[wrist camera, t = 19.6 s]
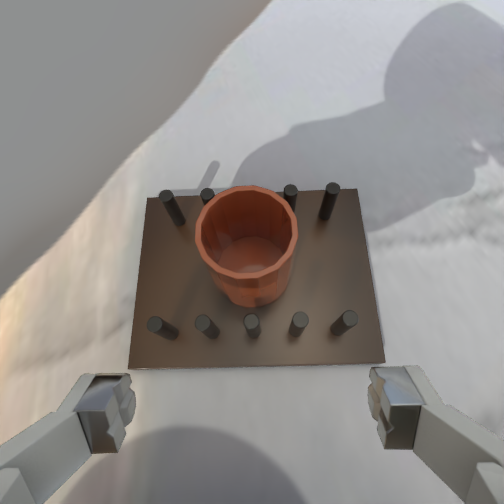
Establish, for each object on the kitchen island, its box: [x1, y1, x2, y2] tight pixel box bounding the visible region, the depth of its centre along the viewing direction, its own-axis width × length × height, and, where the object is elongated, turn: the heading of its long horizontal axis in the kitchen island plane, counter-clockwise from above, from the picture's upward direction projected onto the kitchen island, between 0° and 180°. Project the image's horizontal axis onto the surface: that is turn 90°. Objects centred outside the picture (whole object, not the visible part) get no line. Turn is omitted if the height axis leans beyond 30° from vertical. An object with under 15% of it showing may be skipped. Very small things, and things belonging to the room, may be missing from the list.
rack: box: [128, 182, 386, 370], centre depth 24 cm, size 18×14×5 cm
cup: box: [195, 185, 298, 307], centre depth 22 cm, size 6×6×7 cm
